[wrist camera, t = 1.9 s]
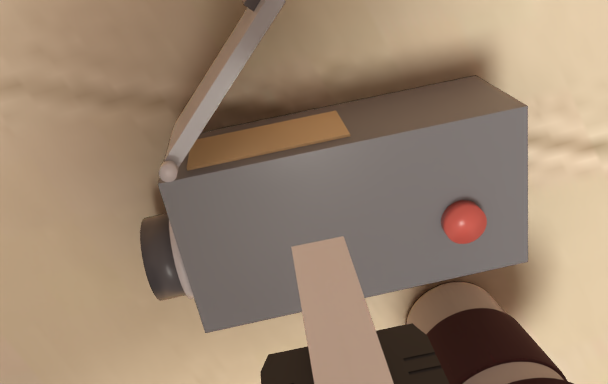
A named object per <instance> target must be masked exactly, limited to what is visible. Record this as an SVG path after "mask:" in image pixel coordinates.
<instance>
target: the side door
mask: <svg viewBox="0 0 608 384" xmlns="http://www.w3.org/2000/svg"><path fill="white" fill-rule="evenodd" d="M285 2H286V1H285V0H243V5H245V6H246V7H247V9H246V10H245V12H244V14H243V15H242V17H241V18H240V20H239V22H238V23H237V25H236V26H235V28H234V30H233V31H232V33H231V34H230V36H229V38H228V39H227V41H226V42H225V44H224V46H223V47H222V49H221V50H220V52H219V54H218V55H217V57H216V58H215V60H214V62H213V63H212V65H211V66H210V68H209V70H208V71H207V73H206V74H205V76H204V78H203V79H202V81H201V82H200V84H199V86H198V87H197V89H196V90H195V92H194V94H193V95H192V97H191V98H190V100H189V102H188V103H187V105H186V106H185V108H184V110H183V111H182V113H181V114H180V116H179V118H178V119H177V121H176V122H175V124H174V127H173V131H172V135H171V138H170V142H169V146H168V149H167V153H166V157H165V161H173V162H175V163H176V164H177V166H178V168H179V166H180V165H181V163H182V162H183V160H184V158H185V157H186V155H187V154H188V152H189V151H190V149H191V148H192V146H193V144H194V143H195V141H196V140H197V138H198V137H199V135H200V134H201V132H202V131H203V129H204V127H205V126H206V124H207V123H208V121H209V120H210V118H211V117H212V115H213V113H214V112H215V110H216V109H217V107H218V106H219V104H220V103H221V101H222V100H223V98H224V96H225V95H226V93H227V92H228V90H229V89H230V87H231V86H232V84H233V82H234V81H235V79H236V78H237V76H238V75H239V73H240V72H241V70H242V69H243V67H244V65H245V64H246V62H247V61H248V59H249V58H250V56H251V55H252V53H253V51H254V50H255V48H256V47H257V45H258V44H259V42H260V41H261V39H262V38H263V36H264V34H265V33H266V31H267V30H268V28H269V27H270V25H271V24H272V22H273V20H274V19H275V17H276V16H277V14H278V13H279V11H280V10H281V8H282V7H283V5H284V3H285Z"/></svg>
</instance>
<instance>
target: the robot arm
mask: <svg viewBox="0 0 608 384" xmlns="http://www.w3.org/2000/svg"><path fill="white" fill-rule="evenodd" d="M291 248H292V254H293V260H294V266H295V272H296V278H297V284H298V290H299V296H300V302H301V308H302V314H303V320H304V326H305V331H306V337H307V343H308V347H303V348H298V349H294V350H289V351H284V352H279V353H275V354H270V355H268V357H267V359H266V361H265V363H264V366H263V368H262V370H261V384H449V381H448V379H447V377H446V375H445V373H444V371H443V369H442V368H441V364H440V362H439V360H438V358H437V355H435V351H434V349H433V347H432V345H431V342H430V340H429V338H428V336H427V335H426V334H425V333H424V332H422V331H421V330H420V329H419V328H417V327H416V326H415V325H414V324H413V323H411V324H407V325H402V326H397V327H392V328H388V329H383V330H378V331H376V330H375V327H374V324H373V321H372V318H371V315H370V312H369V310H368V307H367V304H366V301H365V298H364V295H363V292H362V289H361V286H360V283H359V280H358V277H357V274H356V271H355V268H354V266H353V263H352V260H351V257H350V254H349V251H348V248H347V245H346V242H345V239H344V236H341V237H336V238H332V239H327V240H322V241H317V242H312V243H307V244H302V245H297V246H293V247H291Z"/></svg>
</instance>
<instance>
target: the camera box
mask: <svg viewBox="0 0 608 384" xmlns="http://www.w3.org/2000/svg"><path fill="white" fill-rule="evenodd" d="M169 142H170V141H169ZM168 146H169V144H168ZM167 149H168V148H167ZM166 153H167V152H166ZM165 157H166V155H165ZM159 177H160V178H159V181H158V186H159V190H160V193H161V196H162V199H163V202H164V205H165V208H166V211H167V213H166V214H161V215H157V216H152V217H147V218H144V219H143V220H142V223H141V230H140V241H141V251H142V257H143V263H144V267H145V271H146V275H147V278H148V281H149V284H150V287H151V289H152V291H153V293H154V295H155V296H156V297H157V299H159V300H166V299H170V298H175V297H179V296H184V295H187V297H188V298H189V299H193V298H194V299H195V302H196V305H197V308H198V311H199V315H200V318H201V321H202V324H203V327H204V330H205V333H208V332H213V331H217V330H222V329H226V328H231V327H235V326H240V325H244V324H249V323H253V322H258V321H262V320H267V319H271V318H276V317H281V316H285V315H290V314H294V313H299V312H302V308H301V302H300V296H299V290H298V284H297V278H296V272H295V266H294V260H293V254H292V248H291V247H293V246H297V245H302V244H307V243H312V242H317V241H322V240H327V239H332V238H336V237H341V236H344V239H345V242H346V245H347V248H348V251H349V254H350V257H351V260H352V263H353V266H354V268H355V271H356V274H357V277H358V280H359V283H360V286H361V289H362V292H363V295H364V298H366V297H371V296H375V295H380V294H384V293H389V292H394V291H398V290H403V289H407V288H412V287H416V286H421V285H425V284H430V283H434V282H439V281H443V280H448V279H452V278H457V277H461V276H466V275H470V274H475V273H479V272H484V271H488V270H493V269H497V268H502V267H507V266H511V265H516V264H520V263H525V262H528V106H527V105H525V104H523V103H522V102H520V101H518V100H517V99H515V98H513V97H512V96H510V95H508V94H506V93H505V92H503V91H501V90H500V89H498V88H496V87H495V86H493V85H491V84H490V83H488V82H486V81H484V80H483V79H481V78H479V77H478V76H471V77H466V78H461V79H456V80H452V81H447V82H442V83H437V84H432V85H428V86H423V87H418V88H413V89H408V90H404V91H399V92H394V93H389V94H384V95H380V96H375V97H370V98H365V99H360V100H356V101H351V102H346V103H341V104H336V105H332V106H327V107H322V108H317V109H312V110H308V111H303V112H298V113H293V114H288V115H284V116H279V117H274V118H269V119H264V120H260V121H255V122H250V123H245V124H240V125H236V126H231V127H226V128H221V129H216V130H212V131H207V132H202V133H201V134H200V135H199V137H198V138H197V140H196V141H195V143H194V144H193V146H192V148H191V149H190V151H189V152H188V154H187V155H186V157H185V158H184V160H183V162H182V163H181V165H180V166H179V168H178V166H177V164H176V163H175V162H173V161H165V159H164V162H163V163H162V164H161V166H160V170H159Z"/></svg>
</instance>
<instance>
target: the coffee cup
mask: <svg viewBox="0 0 608 384" xmlns="http://www.w3.org/2000/svg"><path fill="white" fill-rule="evenodd" d="M411 323H413V324H414V325H415V326H416V327H417V328H419V329H420V330H421V331H422V332H424V333H425V334H426V335H427V336H428V338H429V340H430V342H431V345H432V347H433V349H434V351H435V355H437V358H438V360H439V362H440V364H441V368H442V369H443V371H444V373H445V375H446V377H447V379H448V381H449V384H573V383H571V382H568V381H567V380H566V378H565V376H564V375H563V373H562V372H561V371H560V370H559V368H558V367H557V366H556V365H555V364H554V363H553V362H552V360H551V359H550V358H549V357H548V356H547V355H546V354H545V353H544V351H543V350H542V349H541V348H540V347H539V346H538V345H537V343H536V342H535V341H534V340H533V339H532V338H531V337H530V336H529V334H528V333H527V332H526V331H525V330H524V329H523V328H522V326H521V325H520V324H519V323H518V322H517V321H516V320H515V319H514V318H512V317H511V316H510V315H508V314H506V313H505V312H504V310H503V309H502V308H501V307H500V306H499V305H498V304H497V302H496V301H495V300H494V299H493V298H492V297H491V295H490V294H489V293H488V292H487V291H485V290H484V289H482V288H481V287H479V286H477V285H475V284H471V283H466V282H451V283H446V284H442V285H439V286H437V287H435V288H432V289H431V290H429V291H428V292H426V293H425V294H424V295H422V296H421V297H420V298H419V299H418V300H417V301H416V303H415V304H414V305H413V307H412V308H411V310H410V312H409V315H408V317H407V322H406V325H407V324H411Z"/></svg>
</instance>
